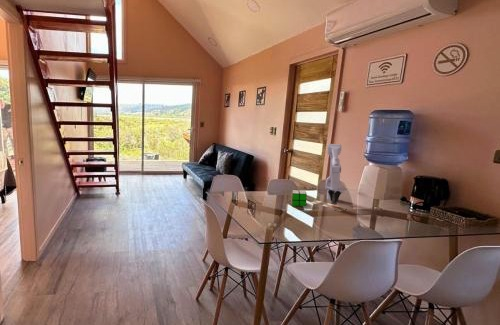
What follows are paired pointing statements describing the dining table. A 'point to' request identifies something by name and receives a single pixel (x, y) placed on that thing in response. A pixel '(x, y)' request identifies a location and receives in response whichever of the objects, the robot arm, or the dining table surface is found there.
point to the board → (330, 205)
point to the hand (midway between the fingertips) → (334, 201)
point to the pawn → (333, 199)
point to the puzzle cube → (298, 198)
